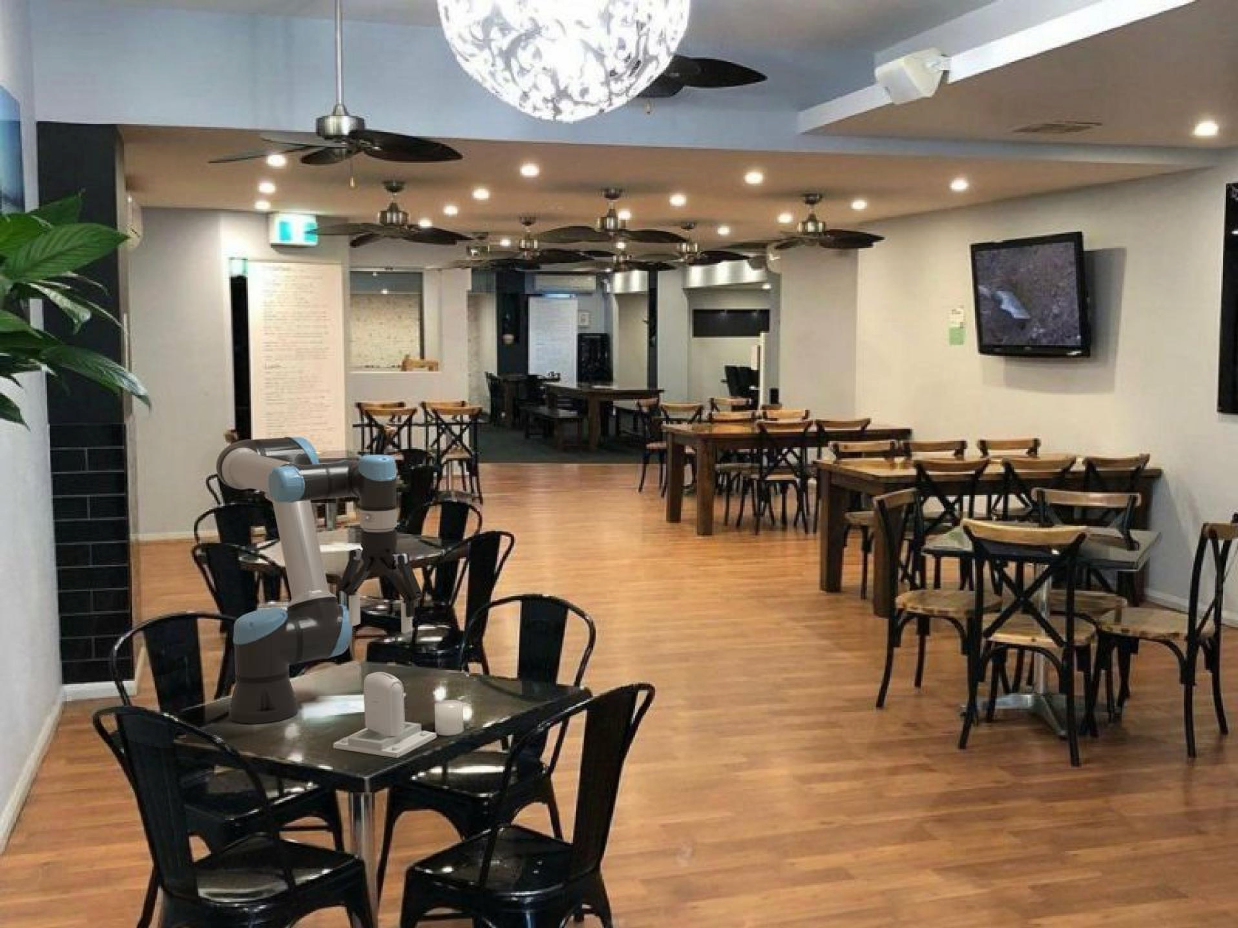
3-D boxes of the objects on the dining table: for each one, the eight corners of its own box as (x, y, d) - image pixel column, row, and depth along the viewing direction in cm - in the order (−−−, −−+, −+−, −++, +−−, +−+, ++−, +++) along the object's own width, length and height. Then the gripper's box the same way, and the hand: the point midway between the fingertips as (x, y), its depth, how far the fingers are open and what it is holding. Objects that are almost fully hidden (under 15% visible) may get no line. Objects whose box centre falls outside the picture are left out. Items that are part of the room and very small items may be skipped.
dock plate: (333, 747, 247) (332, 736, 246) (374, 728, 259) (374, 717, 259) (397, 757, 240) (396, 745, 240) (436, 737, 252) (436, 725, 252)
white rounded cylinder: (429, 733, 256) (429, 705, 255) (445, 725, 261) (444, 698, 260) (453, 736, 253) (452, 709, 252) (468, 728, 258) (468, 701, 258)
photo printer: (361, 728, 251) (360, 671, 250) (378, 723, 254) (377, 667, 253) (391, 738, 244) (389, 679, 243) (408, 733, 247) (406, 675, 246)
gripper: (319, 527, 252) (322, 625, 254) (416, 536, 241) (418, 638, 243) (342, 522, 259) (345, 618, 261) (438, 530, 248) (439, 630, 250)
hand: (380, 628), depth 252 cm, fingers open, 13 cm apart
